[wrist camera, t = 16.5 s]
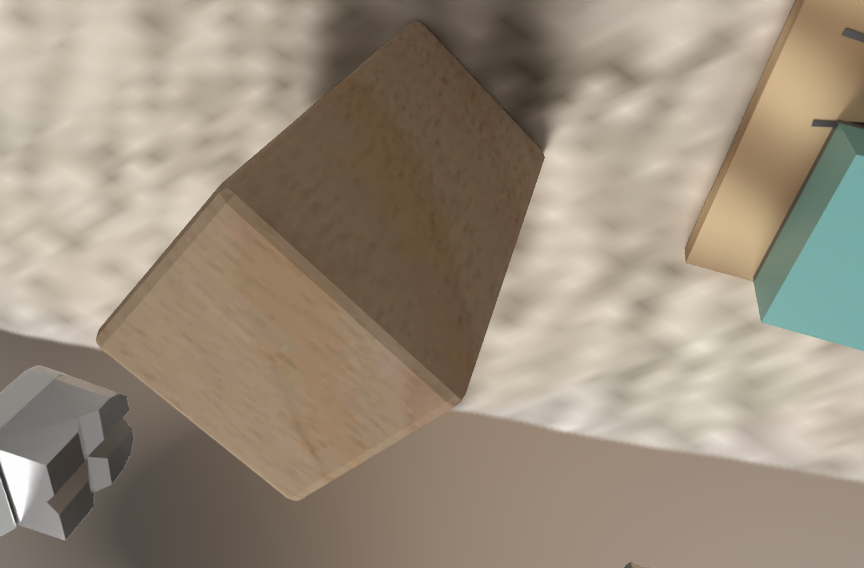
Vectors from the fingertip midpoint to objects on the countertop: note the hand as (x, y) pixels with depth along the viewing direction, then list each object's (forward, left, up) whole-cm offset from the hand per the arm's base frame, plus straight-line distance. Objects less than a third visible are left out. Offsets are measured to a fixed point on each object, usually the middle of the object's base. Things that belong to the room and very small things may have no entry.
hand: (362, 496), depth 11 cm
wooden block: (+8, -6, -29) cm, 31 cm away
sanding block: (+5, +15, -28) cm, 32 cm away
